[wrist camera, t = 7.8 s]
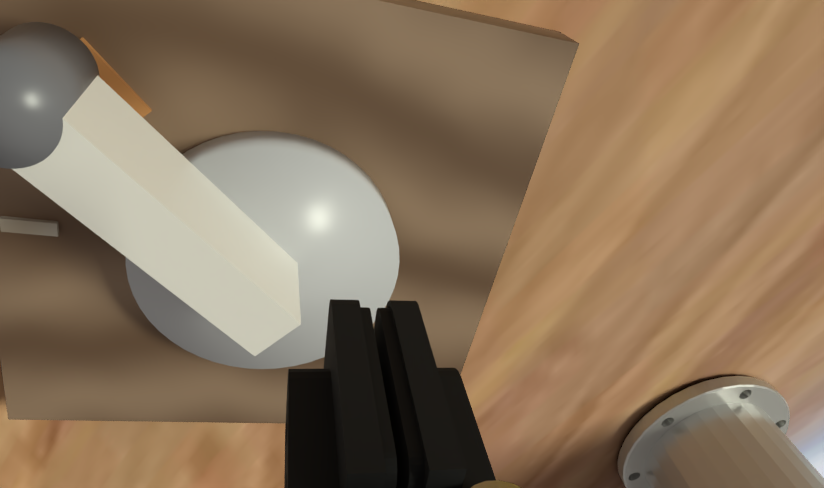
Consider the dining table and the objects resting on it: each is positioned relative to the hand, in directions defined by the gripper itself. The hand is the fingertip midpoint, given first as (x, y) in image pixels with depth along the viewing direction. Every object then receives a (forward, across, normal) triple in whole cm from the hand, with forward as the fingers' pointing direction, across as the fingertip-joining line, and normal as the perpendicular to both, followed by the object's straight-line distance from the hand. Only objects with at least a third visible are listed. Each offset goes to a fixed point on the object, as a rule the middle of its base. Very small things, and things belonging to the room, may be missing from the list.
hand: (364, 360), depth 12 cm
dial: (+14, +4, +4) cm, 15 cm away
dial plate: (+16, +2, +6) cm, 18 cm away
